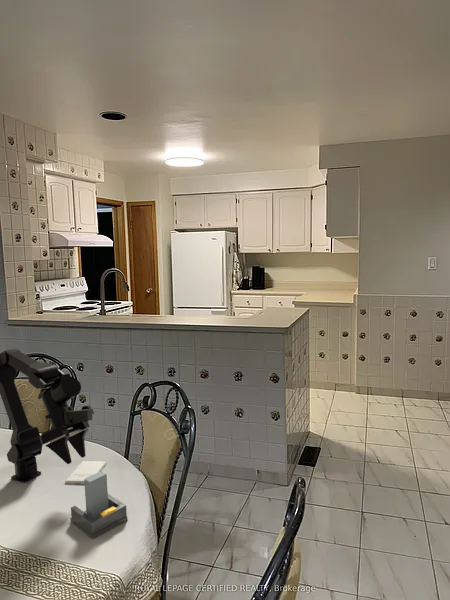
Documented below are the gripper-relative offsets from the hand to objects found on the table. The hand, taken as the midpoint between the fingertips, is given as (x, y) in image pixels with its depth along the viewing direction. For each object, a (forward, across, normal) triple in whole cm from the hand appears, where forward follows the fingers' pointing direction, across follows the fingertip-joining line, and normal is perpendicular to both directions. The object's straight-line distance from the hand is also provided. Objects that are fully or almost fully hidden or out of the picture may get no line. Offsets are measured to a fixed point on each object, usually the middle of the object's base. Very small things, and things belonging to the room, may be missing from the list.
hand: (77, 460), depth 123 cm
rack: (+16, -4, -2) cm, 17 cm away
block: (+15, -4, -2) cm, 16 cm away
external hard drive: (+6, +19, +8) cm, 21 cm away
